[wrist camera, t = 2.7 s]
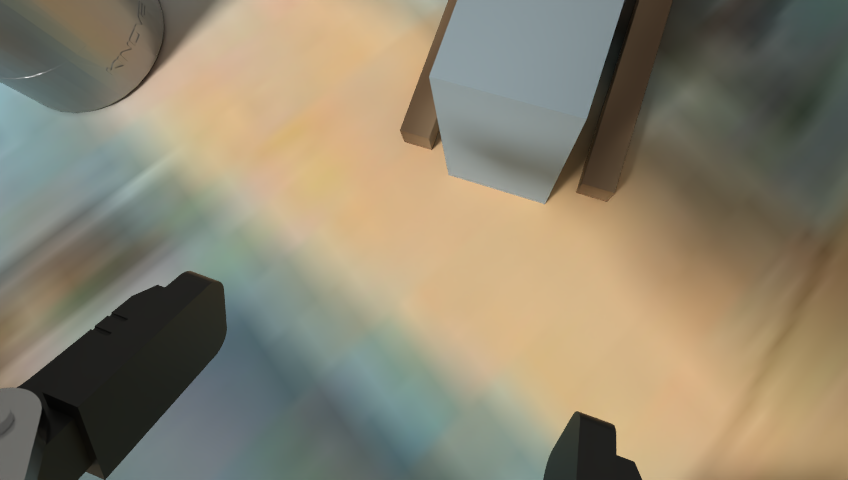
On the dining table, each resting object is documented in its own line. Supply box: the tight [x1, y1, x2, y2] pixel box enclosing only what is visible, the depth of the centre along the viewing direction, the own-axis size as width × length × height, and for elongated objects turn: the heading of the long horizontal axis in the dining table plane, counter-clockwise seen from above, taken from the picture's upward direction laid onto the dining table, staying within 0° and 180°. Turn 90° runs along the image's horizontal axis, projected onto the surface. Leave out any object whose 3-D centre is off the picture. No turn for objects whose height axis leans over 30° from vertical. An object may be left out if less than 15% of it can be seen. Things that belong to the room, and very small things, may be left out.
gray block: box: [429, 0, 624, 204], centre depth 21 cm, size 5×5×10 cm
